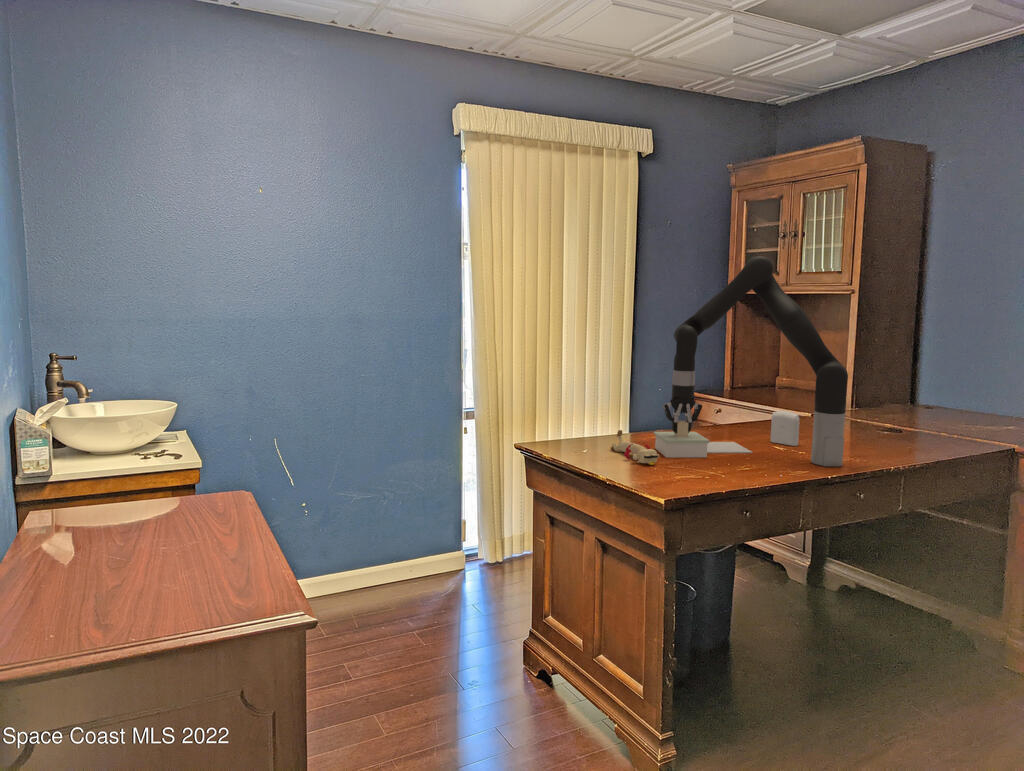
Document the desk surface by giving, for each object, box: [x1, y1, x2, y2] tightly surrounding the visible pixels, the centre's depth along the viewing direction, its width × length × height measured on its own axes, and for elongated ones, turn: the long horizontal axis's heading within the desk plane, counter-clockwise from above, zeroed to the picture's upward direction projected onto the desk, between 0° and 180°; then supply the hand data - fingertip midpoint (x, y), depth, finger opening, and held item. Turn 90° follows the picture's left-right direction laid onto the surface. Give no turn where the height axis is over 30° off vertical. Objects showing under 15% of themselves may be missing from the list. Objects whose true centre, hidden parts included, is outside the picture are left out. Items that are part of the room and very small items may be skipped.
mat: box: [707, 441, 753, 454], centre depth 255 cm, size 17×17×1 cm
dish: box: [654, 436, 708, 459], centre depth 245 cm, size 14×14×5 cm
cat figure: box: [610, 429, 660, 466], centre depth 237 cm, size 10×9×25 cm
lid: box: [653, 420, 711, 443], centre depth 245 cm, size 15×15×6 cm
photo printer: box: [770, 410, 800, 447], centre depth 263 cm, size 10×4×12 cm, turn 39°
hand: (681, 432), depth 245 cm, fingers closed on lid, 3 cm apart
